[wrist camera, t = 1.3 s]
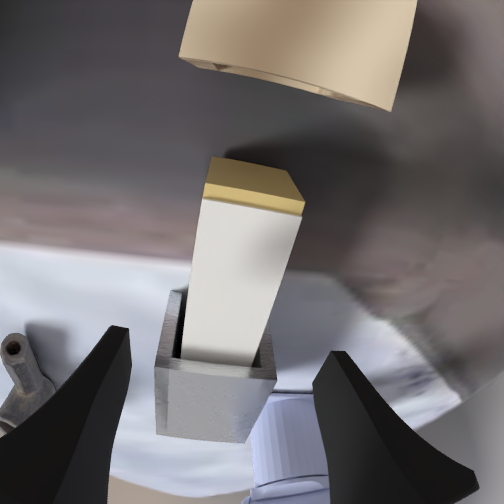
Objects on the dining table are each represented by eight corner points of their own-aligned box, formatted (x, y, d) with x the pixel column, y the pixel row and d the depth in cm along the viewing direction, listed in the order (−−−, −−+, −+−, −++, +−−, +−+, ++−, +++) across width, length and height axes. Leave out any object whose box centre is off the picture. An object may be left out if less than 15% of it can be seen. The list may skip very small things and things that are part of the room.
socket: (354, 19, 12) (418, -4, 7) (333, 98, 15) (390, 111, 9) (221, -16, 11) (216, -69, 5) (199, 67, 13) (178, 56, 8)
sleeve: (265, 304, 21) (277, 380, 16) (240, 378, 26) (244, 443, 20) (170, 290, 20) (154, 366, 15) (165, 369, 25) (156, 434, 19)
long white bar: (285, 169, 16) (306, 203, 12) (228, 371, 25) (229, 421, 20) (212, 154, 16) (204, 184, 11) (180, 365, 24) (175, 416, 20)
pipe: (48, 336, 22) (16, 407, 16) (68, 405, 28) (52, 460, 22) (-2, 318, 21) (-38, 379, 14) (26, 389, 27) (7, 441, 20)
